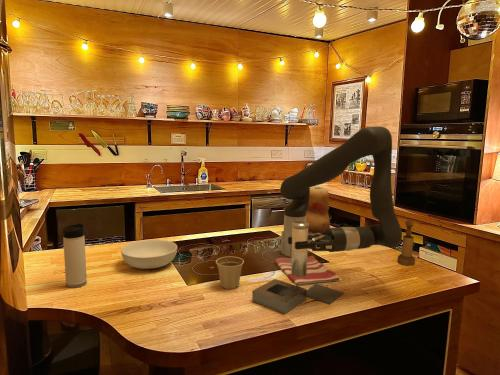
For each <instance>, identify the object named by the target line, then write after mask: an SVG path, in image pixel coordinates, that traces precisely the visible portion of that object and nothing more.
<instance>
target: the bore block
mask: <svg viewBox="0 0 500 375" xmlns="http://www.w3.org/2000/svg"><path fill="white" fill-rule="evenodd" d="M307 290H308V288H305V287H303V286H297V285H296V284H291V283H290V282H289V283H288V282H285V281H283V280H280V279H276V278H274V279H272V280H270V281H268V282H266V283H265V284H262V285H260V286H259V287H257V288H255V289H253V290H252V293H251V295H252V298H251V299H252V300H251V301H252V302H253V303H256V304H258V305H261V306H263V307H266V308H269V309H271V310H273V311H276V312H278V313H281V314H284V315H285V314H287V313H289V312H290V311H292V310H294V309H295V308H296V307H297V306H300V305H301V304H302V303H303V302H305V301H306V300H307V297H306V292H307Z"/></svg>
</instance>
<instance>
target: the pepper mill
mask: <svg viewBox="0 0 500 375" xmlns="http://www.w3.org/2000/svg"><path fill="white" fill-rule="evenodd" d="M404 224H405V226H406V230H405V235H402V242H401V244H402V246H401V254H398V256H397V259H396V260H397V263H398V264H400V265H402V264H403V266H407V265H412V266H414V265H415V263H416V262H415V261H416V259H415V257H414V256H413V248H414V236H412V233H413V231H412V228H413V226H414V224H415V223H414V220H412V219H407V220H406V221H405V223H404Z"/></svg>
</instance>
